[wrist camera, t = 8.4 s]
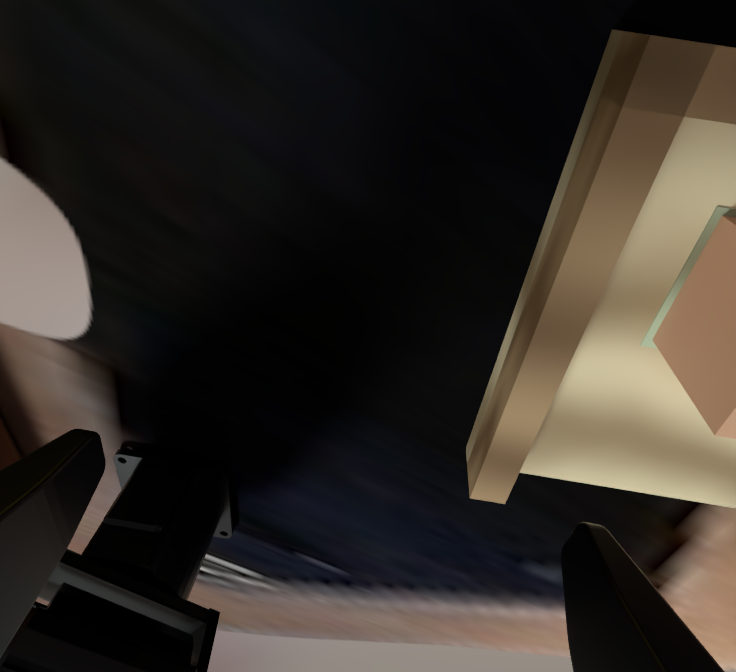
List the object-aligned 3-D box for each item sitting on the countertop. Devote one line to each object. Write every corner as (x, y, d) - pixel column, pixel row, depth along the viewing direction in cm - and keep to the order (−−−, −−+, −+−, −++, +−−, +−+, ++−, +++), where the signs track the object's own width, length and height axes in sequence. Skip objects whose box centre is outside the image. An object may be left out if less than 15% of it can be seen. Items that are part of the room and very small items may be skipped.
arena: (744, 494, 24) (779, 549, 22) (465, 448, 24) (469, 498, 22) (1101, 101, 14) (1246, 123, 11) (611, 29, 14) (650, 35, 12)
